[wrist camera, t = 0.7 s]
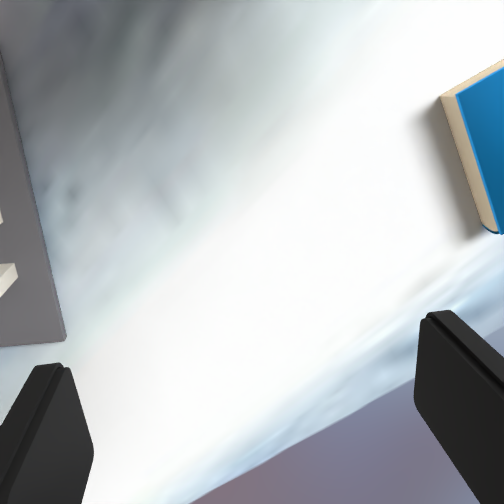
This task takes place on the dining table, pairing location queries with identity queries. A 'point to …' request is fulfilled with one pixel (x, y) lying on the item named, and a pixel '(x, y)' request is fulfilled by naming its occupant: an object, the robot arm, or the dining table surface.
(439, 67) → the dining table surface
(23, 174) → the mat
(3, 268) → the domino
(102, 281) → the dining table surface
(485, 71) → the book
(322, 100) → the dining table surface
